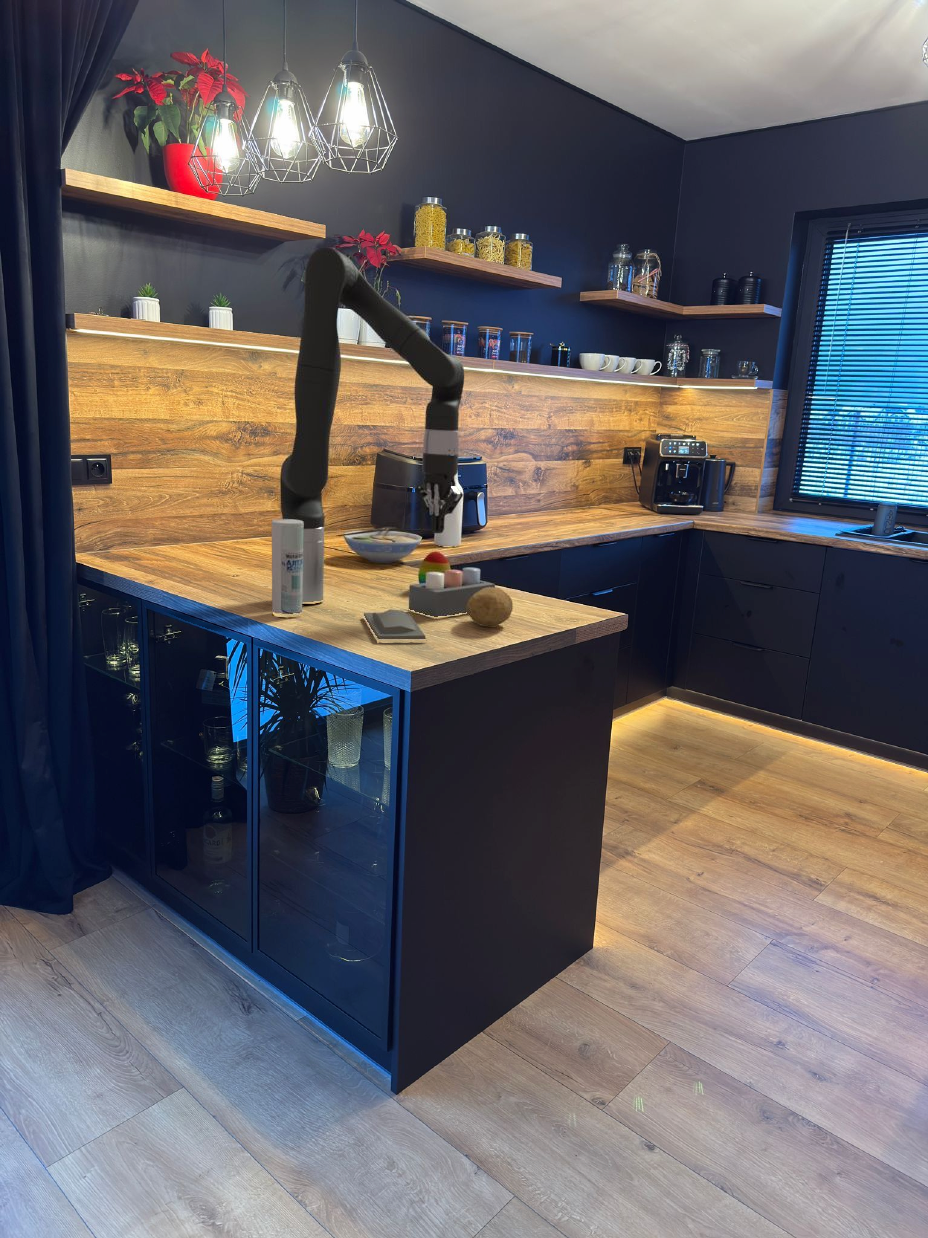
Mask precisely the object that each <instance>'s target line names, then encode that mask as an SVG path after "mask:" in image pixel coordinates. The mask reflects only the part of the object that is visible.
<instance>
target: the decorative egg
mask: <svg viewBox="0 0 928 1238" xmlns="http://www.w3.org/2000/svg"><path fill="white" fill-rule="evenodd" d="M445 570H452V569H451V566H450V563H449V561H448V559H447V557H445V555H444V554H443V553H441V552H440V551H431V552H429V553H428V554H427V555H426V556H425V557H424V558H423V560H422V562H421V563H420V566H419V570H418V577H417V578H418V584H421V583H426V573H427V572H440V573H444V578H445Z"/></svg>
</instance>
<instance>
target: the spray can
mask: <svg viewBox="0 0 928 1238" xmlns="http://www.w3.org/2000/svg"><path fill="white" fill-rule="evenodd" d="M303 527H304V523H303V521H301V520H294V519H282V518H278V519H273V520H271V612H272V611H273V612H275V613H282V614H293V613H300V612H302V613H303V605H302V585H303Z"/></svg>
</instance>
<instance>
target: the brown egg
mask: <svg viewBox="0 0 928 1238" xmlns="http://www.w3.org/2000/svg"><path fill="white" fill-rule="evenodd" d="M462 575H463V570H459V569H451V570H445V578H444V585H445V586H449V587H459V586H462Z"/></svg>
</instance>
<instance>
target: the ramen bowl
mask: <svg viewBox="0 0 928 1238" xmlns="http://www.w3.org/2000/svg"><path fill="white" fill-rule="evenodd" d="M397 530H398V528H397V527H396V526H395V527H393V526H387V527H380V528H375V529H369V530H368V529H367V530H354V531H349V532H345V533H343V534H336V535H335V537H343V539H344V542H346V544H347V545H348V547H349V548H350V549H351V551H352V552H354V553H355V554H356V555H358V556H359V557H361V558H363V559H366V560H368V561H369V562H372V563H376V564H392V563H394V562H396V561H398V560H402V559H403V558H407V557H408V556H409V555H411V554H412V553H413V552H414V551H415V550H416V548H417V547H418V546H419V544H420V542H421V540H423V539H422V538H423V537H422V536H420V535H418V534H415V533H410V532H403V531H397Z"/></svg>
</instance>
